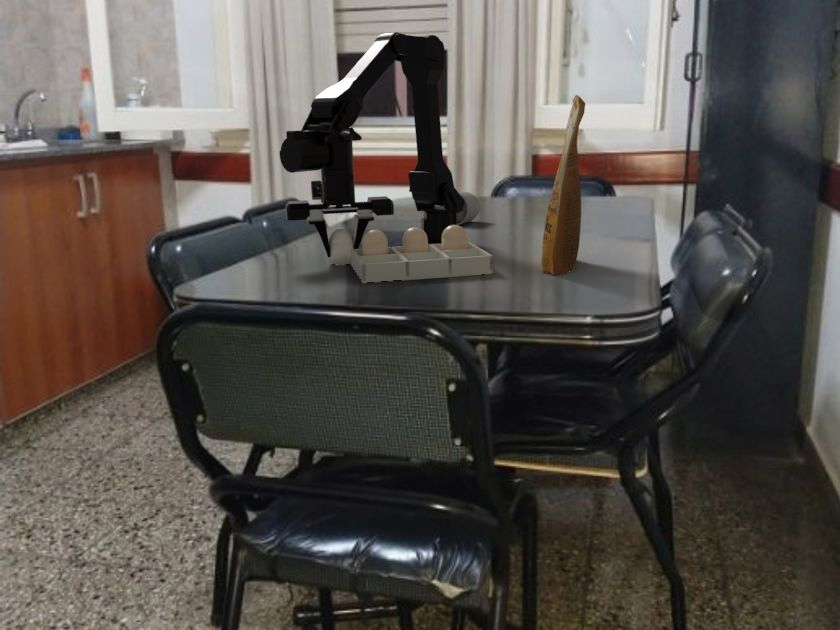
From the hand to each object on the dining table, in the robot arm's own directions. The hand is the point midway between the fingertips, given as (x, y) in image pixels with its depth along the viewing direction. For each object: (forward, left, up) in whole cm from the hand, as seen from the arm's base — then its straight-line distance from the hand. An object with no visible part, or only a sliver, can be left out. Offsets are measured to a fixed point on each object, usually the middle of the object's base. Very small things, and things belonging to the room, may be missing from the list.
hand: (342, 256), depth 141 cm
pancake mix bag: (-36, +16, -2) cm, 39 cm away
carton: (-12, +11, -1) cm, 16 cm away
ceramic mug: (-31, -41, -2) cm, 51 cm away
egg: (0, 0, -1) cm, 1 cm away
